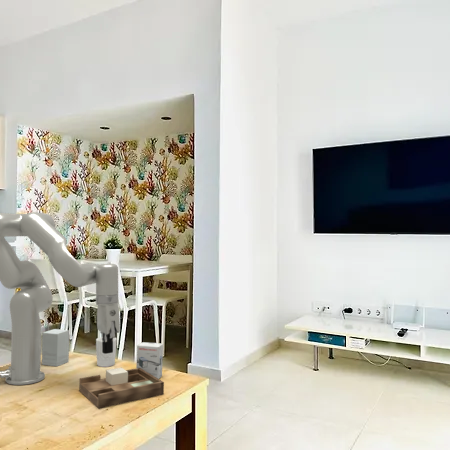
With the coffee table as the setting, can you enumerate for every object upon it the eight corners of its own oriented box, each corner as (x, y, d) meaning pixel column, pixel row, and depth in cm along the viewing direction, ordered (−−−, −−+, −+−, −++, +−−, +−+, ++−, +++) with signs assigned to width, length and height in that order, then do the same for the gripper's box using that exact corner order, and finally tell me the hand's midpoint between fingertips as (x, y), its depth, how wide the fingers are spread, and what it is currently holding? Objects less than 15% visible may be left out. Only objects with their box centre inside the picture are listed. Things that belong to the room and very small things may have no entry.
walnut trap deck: (99, 408, 133) (99, 395, 133) (79, 390, 148) (79, 378, 148) (163, 394, 146) (163, 382, 146) (139, 379, 160) (139, 367, 160)
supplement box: (69, 361, 179) (70, 330, 179) (56, 367, 172) (57, 333, 172) (54, 359, 182) (54, 328, 182) (41, 364, 175) (41, 332, 175)
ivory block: (111, 385, 146) (112, 374, 146) (105, 380, 150) (105, 370, 150) (127, 382, 149) (127, 371, 149) (121, 377, 154) (121, 367, 154)
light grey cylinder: (97, 368, 171) (98, 342, 172) (93, 362, 178) (94, 337, 179) (118, 366, 175) (118, 340, 175) (113, 360, 182) (114, 335, 182)
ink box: (135, 378, 161) (136, 345, 161) (140, 374, 166) (140, 342, 166) (158, 380, 160) (159, 346, 160) (162, 375, 165) (163, 343, 165)
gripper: (126, 301, 152) (126, 355, 152) (109, 296, 164) (109, 346, 164) (104, 303, 148) (105, 359, 147) (89, 298, 160) (89, 350, 159)
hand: (107, 352), depth 156 cm, fingers closed
